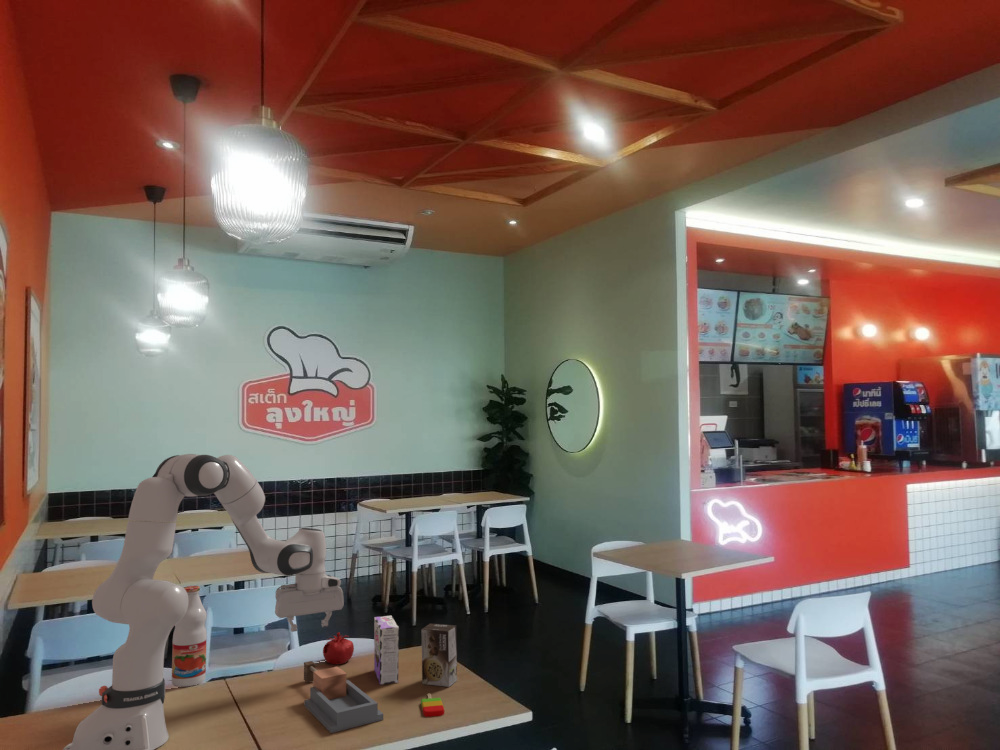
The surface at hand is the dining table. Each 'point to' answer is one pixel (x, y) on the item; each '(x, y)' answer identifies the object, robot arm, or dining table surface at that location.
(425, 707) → the popsicle
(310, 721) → the dining table surface
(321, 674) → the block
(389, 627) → the candy box
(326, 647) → the pomegranate
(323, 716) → the shelf lane
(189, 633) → the fruit juice
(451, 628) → the coffee box
